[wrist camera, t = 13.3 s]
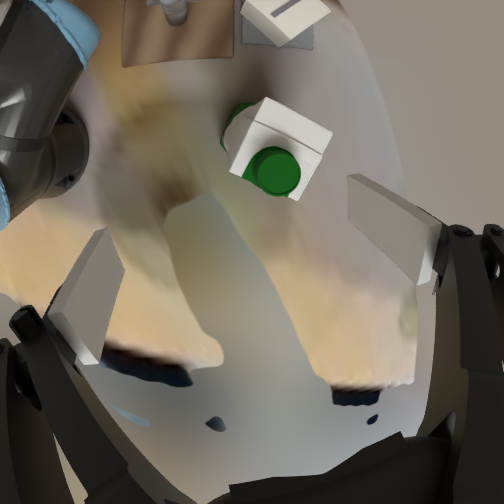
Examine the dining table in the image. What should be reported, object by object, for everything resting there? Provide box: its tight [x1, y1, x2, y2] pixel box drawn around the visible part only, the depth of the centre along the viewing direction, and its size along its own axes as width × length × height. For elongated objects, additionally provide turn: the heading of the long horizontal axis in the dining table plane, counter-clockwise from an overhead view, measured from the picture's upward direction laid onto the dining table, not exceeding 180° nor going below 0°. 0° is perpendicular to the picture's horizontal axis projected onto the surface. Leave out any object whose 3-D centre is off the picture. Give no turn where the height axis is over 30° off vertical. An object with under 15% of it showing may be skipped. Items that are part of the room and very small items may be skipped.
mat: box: [242, 0, 313, 50], centre depth 30 cm, size 11×11×1 cm
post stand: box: [122, 0, 234, 68], centre depth 24 cm, size 16×14×12 cm
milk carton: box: [220, 97, 333, 200], centre depth 31 cm, size 9×9×20 cm
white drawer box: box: [240, 0, 331, 48], centre depth 28 cm, size 8×8×6 cm
